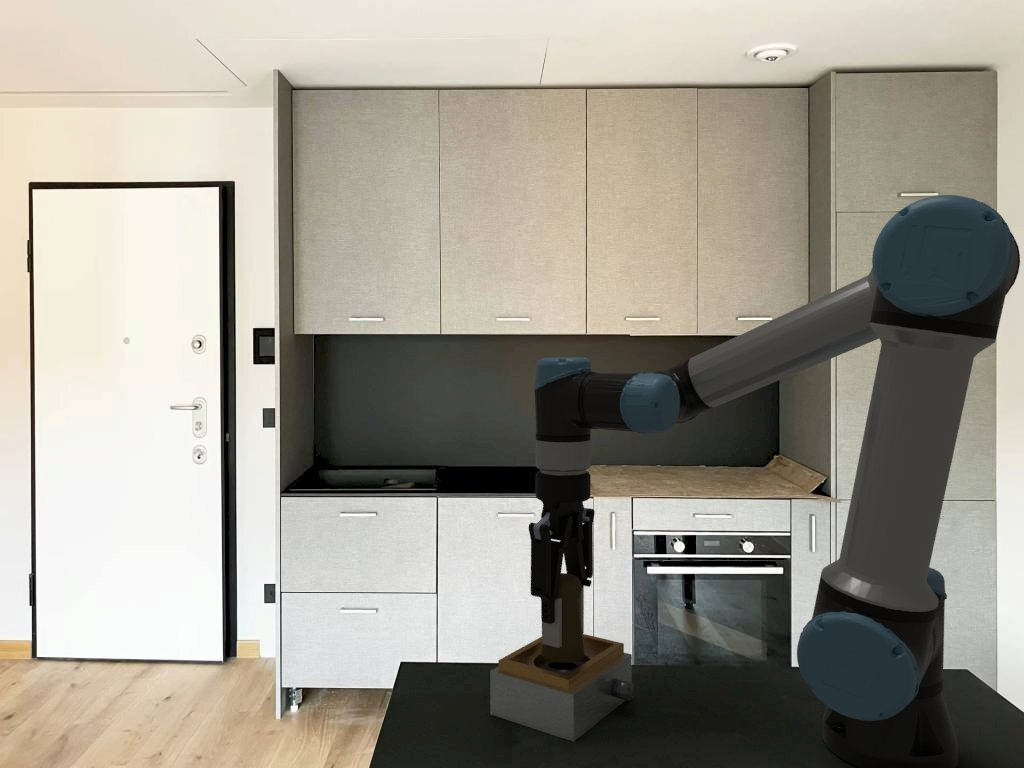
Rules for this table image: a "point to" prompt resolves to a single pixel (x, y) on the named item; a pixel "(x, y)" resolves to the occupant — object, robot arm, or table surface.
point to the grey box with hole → (562, 687)
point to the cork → (568, 623)
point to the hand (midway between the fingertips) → (563, 638)
